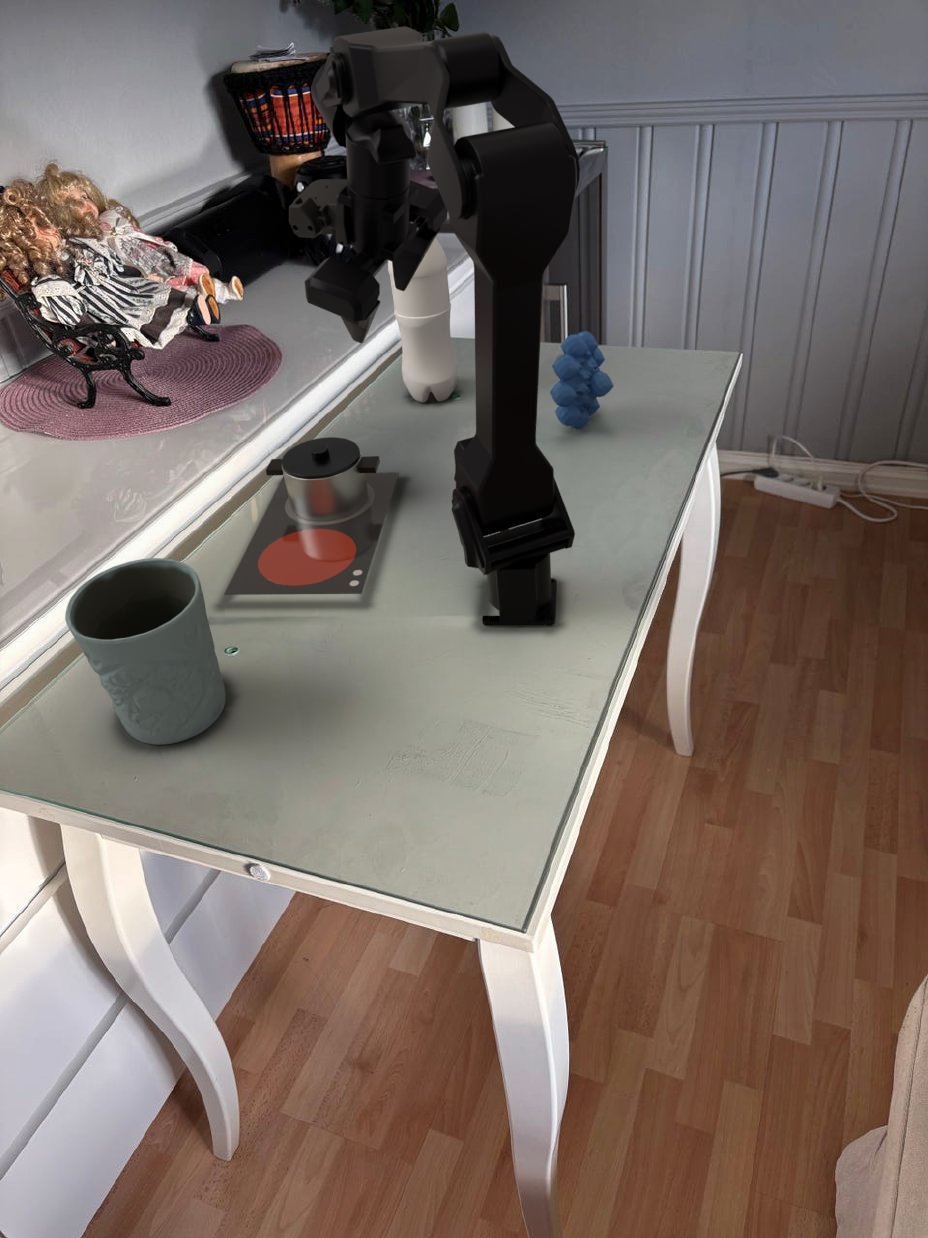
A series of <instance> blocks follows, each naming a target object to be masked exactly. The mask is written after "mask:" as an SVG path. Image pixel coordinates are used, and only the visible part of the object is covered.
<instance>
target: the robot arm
mask: <svg viewBox="0 0 928 1238" xmlns="http://www.w3.org/2000/svg"><path fill="white" fill-rule="evenodd" d="M315 73H316V74H315V76H314V77H313V81H312V84H311V86H310V89H311V90H310V93H311V97H312V101H313V103H314V104H315V107H316V108H317V110H318V112H319V113H320V115H321V117H322V119H323V121H324V123H325V124H326V126H327V128H328V130H329V131H330V133H331V135H332V137H333V138H334V140H335V142H336V143H337V144H338V146H340V147H343V148H345V150H346V151H345V152H346V174H347V177H346V178H345V179H343V178H341V179H340V178H338V179H335V178H334V179H333V178H322V179H317V180H315V181H313V182H311V183H309V184H308V186H306V188H305V189H304V190H303V191H302V192H301V193H300V194H299V195H298V196H297V197H296V198H295V199H294V200H293V201H292V203H291V204H290V205H289V206H288V223H289V225H290V227H291V230H292V233H293V234H294V235H296V236H297V237H298V238H308V239H311V238H313V239H315V238H317V237H318V236H319V235H335V243H336V244H337V245H340V246H343V247H346V248H347V247H349V245H350V246H352V247H353V250H354V251H355V252H356V253H357V255H356V257H355V258H353V260H352V261H351V262H350V263H349V262H345V261H343V260H341V259H338V258H336V257H333V256H330V257H328V258H326V259H324V260H322V262H321V263H319V265H318V266H317V267H316V268H315V269H314V270H313V271H312V273H311V274H310V275H309V276H308V277H307V278H306V279H305V280H304V291H305V292H304V293H305V298H306V301H307V303H308V304H310V305H312V306H315V307H316V308H319V309H322V310H324V311H327V312H329V313H330V314H331V313H332V314H334V315H337V316H339V317H340V318H341V320H342V322H343V324H344V326H345V327H346V329H347V331H348V333H349V335H350V337H351V339H352V341H354V342H356V343H359V344H363V343H364V342H365V340H366V338H367V336H368V333H369V330H370V328H371V325H372V324H373V321H374V319H375V316H376V314H377V312H378V309H379V307H380V304H381V300H379V298H380V297H379V296H380V294H381V285H380V283H379V281H378V280H377V278H376V276H377V275H378V274H379V272H380V271H381V270H382V269H383V267H384V266H385V265H386V264H388V260H389V261H392V266H393V276H394V282H395V287H396V289H398V290H401V291H405V290H406V288H407V286H408V284H409V283H410V281H411V279H412V277H413V276H414V274H415V272H416V270H417V268H418V267H419V265H420V263H421V261H422V260H423V258H424V256H425V254H426V253H427V251H428V249H429V248H430V246H431V244H432V242H433V241H434V239H435V237H436V238H437V236H438V234H439V233H440V231H441V228H442V227H441V226H442V225H443V224H444V223H445V222H446V221H447V219H448V220H449V226H450V227H449V228H451V231H452V232H453V234H454V235H455V236H456V238H457V240H458V242H459V243H460V244H461V246H462V247H463V249H464V250H465V252H466V253H467V255H468V257H469V258H470V259H471V261H472V263H473V283H474V285H473V286H474V288H473V289H474V290H473V291H474V293H473V294H474V297H473V298H474V364H475V365H474V371H475V372H474V373H475V374H474V375H475V381H474V382H475V434H474V436H472V437H468V438H465V439H462V440H458V441H457V442H456V444H455V447H454V450H453V455H454V467H455V468H454V469H455V471H454V477H453V479H454V482H455V488H454V489H453V490H452V499H451V505H452V506H451V513H452V517H453V519H454V522H455V526H456V529H457V531H458V532H457V533H458V537H459V540H460V541H459V542H460V544H461V546H462V548H463V557H464V564H465V566H466V567H467V568H474V569H476V570H477V569H478V570H479V571H480V572H481V573H482V575H483V576H486V582H487V592H488V594H487V595H488V601H489V603H490V604H491V606H493V608H495V609H496V610H498V615H482V618H481V621H482V625H483V626H485V627H486V626H487V627H525V626H526V627H527V626H528V627H538V626H539V627H547V626H548V627H551V626H554V625H555V624H556V619H557V615H556V614H557V593H558V592H557V591H558V581H557V579H556V578H555V577H553V578H552V567H551V565H552V564H551V554H552V553H555V552H558V551H561V550H564V549H565V550H567V549H571V548H572V547H573V544H574V541H575V535H576V532H575V529H574V526H573V523H572V521H571V518H570V515H569V513H568V511H567V507H566V504H565V502H564V500H563V496H562V495H561V492H560V489H559V486H558V483H557V481H556V478H555V471H554V470H555V469H554V467H553V465H552V464H551V463H550V461H549V460H548V458H547V457H546V456H545V455H544V453H543V451H542V450H541V449H540V447H539V446H538V445H537V421H538V403H539V401H538V399H539V396H538V395H539V380H540V379H539V377H540V359H541V358H540V357H541V337H542V335H541V333H542V316H543V315H542V313H543V296H544V295H543V293H544V275H545V272H546V270H547V268H548V266H549V265H550V264H551V262H552V261H553V259H554V257H555V256H556V254H557V253H558V251H559V249H561V248H560V247H561V246H562V245H563V243H564V241H565V240H566V238H567V237H568V235H569V233H570V230H571V224H572V219H573V218H572V217H573V213H574V208H575V207H574V206H575V201H576V200H575V199H576V195H577V190H578V187H579V184H580V177H581V176H580V175H581V174H580V173H581V167H580V159H579V155H578V153H577V149H576V146H575V144H574V142H573V140H572V138H571V135H570V133H569V131H568V129H567V126H566V124H565V122H564V120H563V118H562V115H561V113H560V111H559V109H558V107H557V104H556V102H555V100H554V98H553V97H552V96H551V95H549V94H548V93H547V92H546V91H544V90H543V89H542V88H541V87H540V86H538V85H537V84H536V83H535V82H533V81H532V80H531V79H530V78H529V77H528V76H526V75H525V74H524V73H522V71H520V70H519V69H518V68H516V67H515V66H514V65H513V63H512V61H511V59H510V57H509V54H508V52H507V50H506V47H505V46H504V43H503V42H502V40H501V38H500V37H499V36H498V35H496V34H491V35H490V34H489V33H488V32H486V31H481V32H473V33H467V34H462V35H461V34H460V35H454V36H449V37H442V38H436V39H433V40H430V41H424V37H423V34H422V33H420V32H419V31H417V30H415V29H413V28H410V27H408V26H399V27H393V28H385V29H379V30H373V31H365V32H358V33H352V34H346V35H345V34H344V35H339V36H336V37H335V39H334V41H333V44H332V46H330V47H329V54H328V56H327V59H326V62H324V63H323V64H322V65H321V66H320V68H319V69H318V70H317V71H316V72H315ZM484 103H491V107H492V108H493V109H494V111H495V112H496V113H497V114H498V115H499V116H501V117H502V118H503V119H504V120H505V121H507V122H508V124H510V125H512V126H513V127H508V128H503V129H502V128H501V129H497V130H493V131H486V132H481V133H474V134H470V135H469V134H468V135H464V136H461V137H459V138H458V139H456V141H455V143H454V144H453V141H452V139H451V137H450V134H449V132H448V130H447V127H446V125H445V122H444V115H445V110H450V109H451V110H452V109H456V108H463V107H468V106H473V105H480V104H484ZM420 105H426V106H428V107H429V110H430V112H431V114H432V116H433V125H432V130H431V134H430V140H429V145H428V150H427V155H426V162H427V163H426V164H427V166H428V168H429V170H430V173H431V175H432V178H433V180H434V182H435V185H436V187H437V189H438V190H437V189H435V188H432V187H430V186H427V185H425V184H422V183H419V182H417V181H414V180H411V162H412V161H411V160H412V159H415V158H416V157H417V150H416V147H415V143H414V142H413V140H412V129H411V127H410V126H409V125H408V123H407V122H406V120H405V118H403V117H402V115H400V114H398V113H396V110H401V109H408V108H413V107H418V106H420ZM394 111H395V112H394Z"/></svg>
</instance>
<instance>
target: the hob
mask: <svg viewBox="0 0 928 1238" xmlns="http://www.w3.org/2000/svg"><path fill="white" fill-rule="evenodd" d="M399 474H400V472H398V471H397V472H396V471H395V472H376V473H365V477H366V483H367V489H368V500H367V502H366V503H365V505H364V506H363V507H362V508H360V509H359V510H358V511H356V512H355V513H353V514H351V515H348V516H346V517H343V518H339V519H335V520H329V521H312V520H307V519H303V518H301V517H299V516H297V515H296V514H295V513H294V512H293V510H292V508H291V504H290V500H289V495H288V491H287V487H286V483H285V479H284V475H282V478H281V480H280V482H279V484H278V486H277V488H276V490H275V492H274V494H273V496H272V498H271V500H270V502H269V504H268V506H267V508H266V509H265V511H264V514H263V516H262V518H261V519H260V522H259V524H258V526H257V527H256V529H255V532H254V533H253V536H252V537H251V540H250V542H249V543H248V545H247V548H246V549H245V551H244V554H243V555H242V558H241V560H240V561H239V564H238V566H237V567H236V570H235V571H234V573H233V576H232V577H231V579H230V581H229V584H228V585H227V588H226V589H225V592H224V593H223V595H224V596H226V595H227V596H232V595H234V596H235V595H237V596H240V595H241V596H242V595H243V596H245V595H250V596H253V595H362V594H363V590H364V587H365V584H366V581H367V577H368V574H369V572H370V568H371V564H372V561H373V557H374V554H375V552H376V548H377V545H378V542H379V539H380V535H381V532H382V530H383V526H384V522H385V519H386V516H387V514H388V509H389V506H390V503H391V500H392V497H393V493H394V490H395V486H396V484H397V481H398V477H399Z"/></svg>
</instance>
